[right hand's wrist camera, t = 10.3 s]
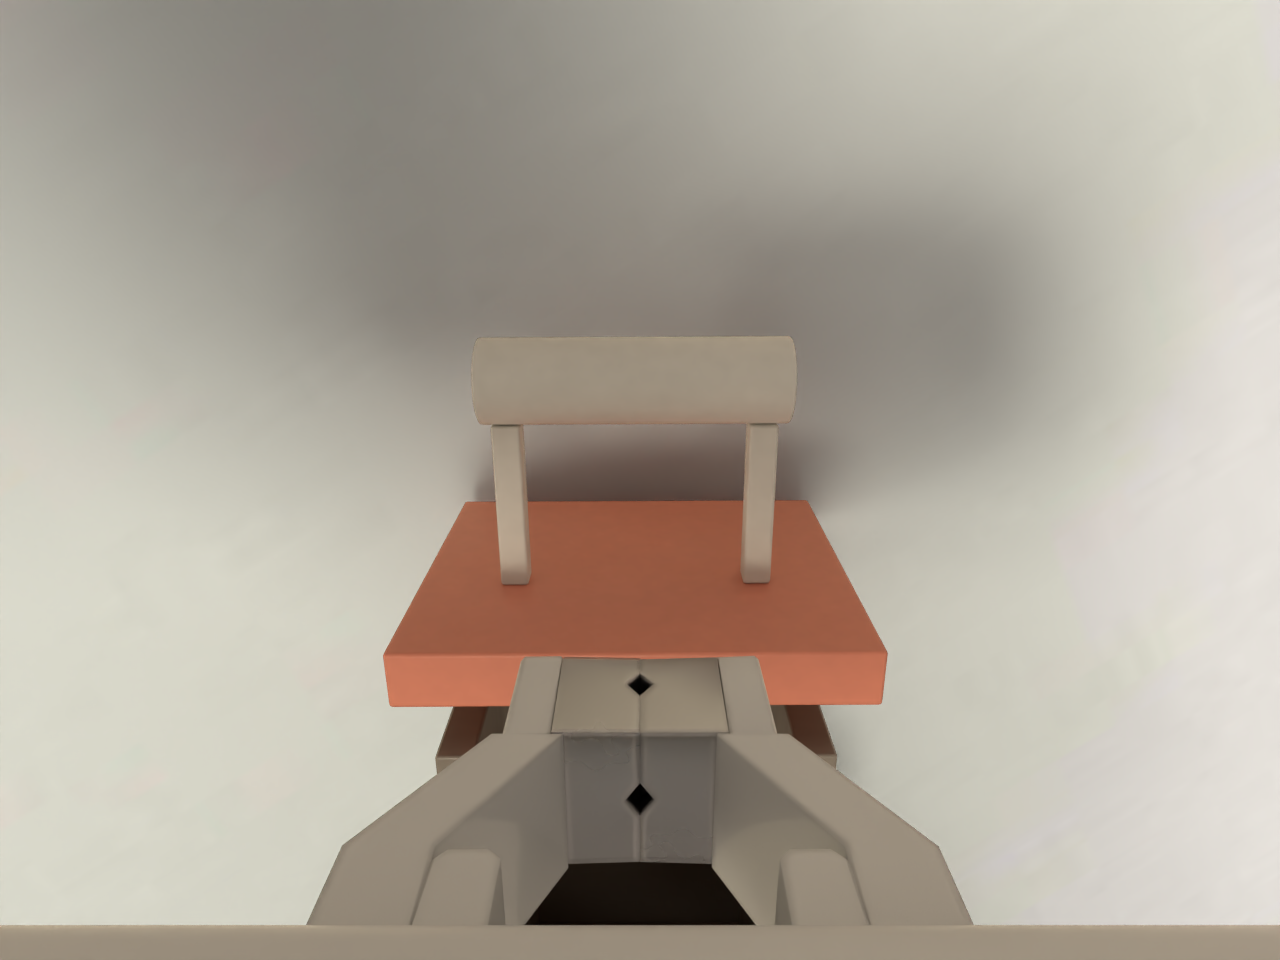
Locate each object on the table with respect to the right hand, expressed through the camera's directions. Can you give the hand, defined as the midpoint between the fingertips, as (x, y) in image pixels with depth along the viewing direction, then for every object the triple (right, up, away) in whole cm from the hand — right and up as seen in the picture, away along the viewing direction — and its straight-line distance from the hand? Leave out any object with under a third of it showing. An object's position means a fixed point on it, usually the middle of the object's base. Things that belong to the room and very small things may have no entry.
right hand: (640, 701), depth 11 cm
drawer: (0, -2, +14) cm, 14 cm away
